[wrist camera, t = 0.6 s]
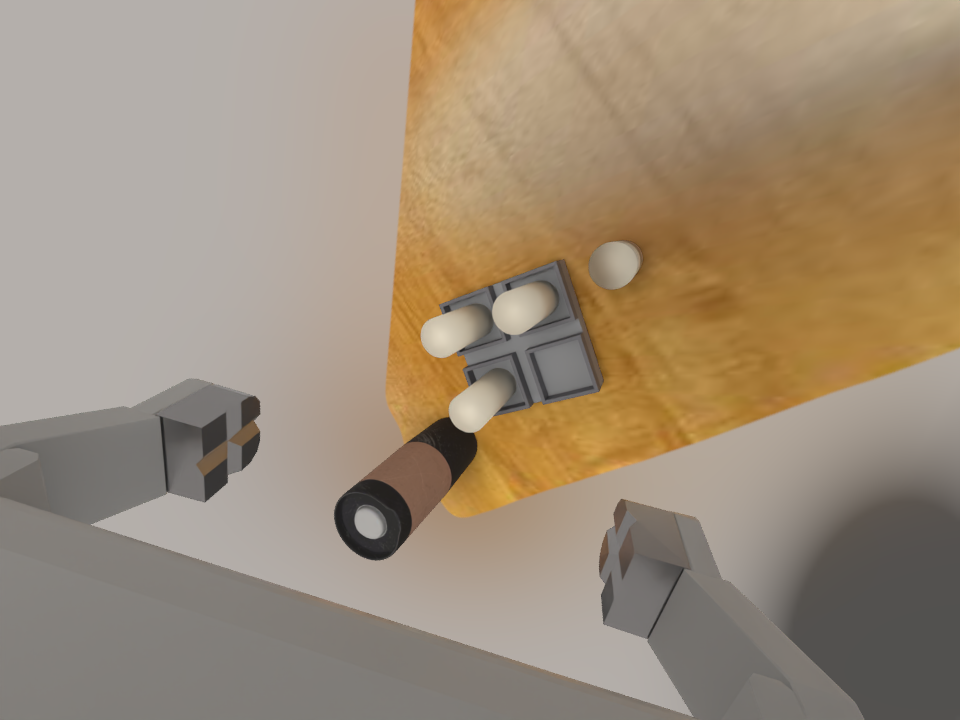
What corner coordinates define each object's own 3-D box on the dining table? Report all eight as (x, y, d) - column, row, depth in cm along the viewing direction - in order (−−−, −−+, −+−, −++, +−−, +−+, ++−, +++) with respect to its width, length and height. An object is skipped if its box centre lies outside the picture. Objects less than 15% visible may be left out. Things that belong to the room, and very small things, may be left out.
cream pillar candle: (636, 234, 47) (628, 234, 38) (647, 271, 48) (643, 280, 39) (598, 248, 49) (582, 251, 40) (609, 284, 49) (596, 295, 40)
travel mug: (421, 449, 64) (325, 533, 46) (438, 405, 61) (342, 476, 43) (467, 477, 62) (386, 576, 44) (487, 433, 60) (409, 519, 42)
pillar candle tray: (563, 259, 50) (534, 266, 39) (603, 380, 52) (586, 420, 41) (453, 300, 57) (401, 316, 45) (492, 407, 58) (451, 448, 47)
